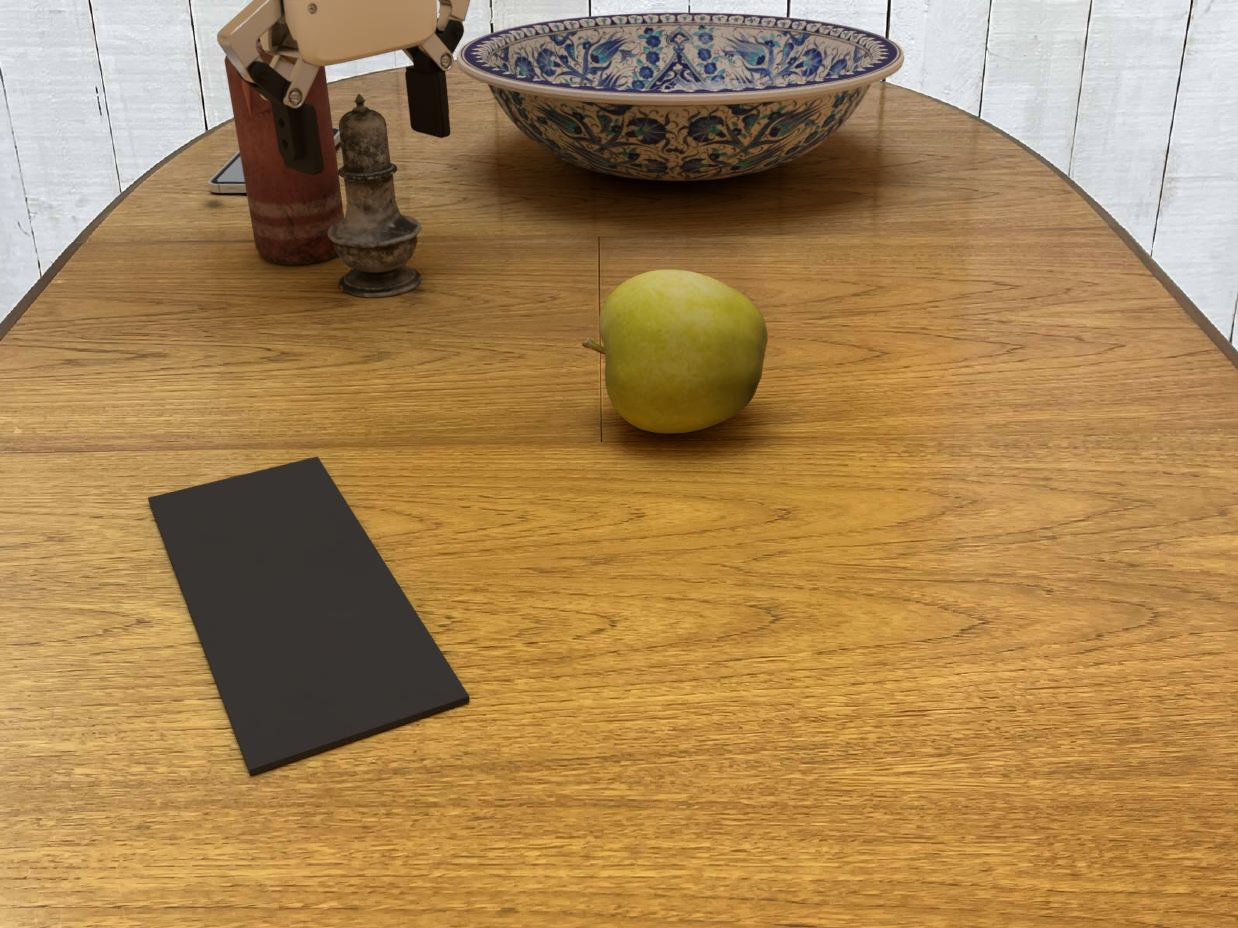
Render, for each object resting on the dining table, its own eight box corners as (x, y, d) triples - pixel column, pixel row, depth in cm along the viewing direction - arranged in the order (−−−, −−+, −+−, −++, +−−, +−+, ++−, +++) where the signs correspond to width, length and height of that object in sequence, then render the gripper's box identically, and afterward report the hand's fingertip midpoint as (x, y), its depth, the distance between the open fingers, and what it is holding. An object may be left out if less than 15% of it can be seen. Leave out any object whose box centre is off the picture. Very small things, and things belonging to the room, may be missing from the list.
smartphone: (203, 184, 97) (261, 127, 110) (206, 196, 97) (263, 138, 110) (297, 184, 96) (344, 127, 109) (299, 196, 97) (346, 138, 110)
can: (239, 264, 84) (201, 49, 77) (282, 232, 90) (251, 29, 83) (322, 271, 83) (291, 53, 76) (361, 238, 88) (336, 32, 81)
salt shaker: (327, 272, 83) (302, 87, 77) (415, 260, 85) (397, 78, 79) (342, 304, 78) (317, 110, 72) (435, 291, 80) (418, 100, 74)
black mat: (250, 776, 43) (248, 769, 42) (148, 502, 58) (147, 497, 58) (470, 702, 46) (469, 695, 46) (318, 461, 61) (317, 455, 61)
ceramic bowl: (858, 111, 116) (868, -3, 111) (930, 240, 87) (948, 93, 82) (489, 113, 117) (482, 0, 112) (436, 242, 88) (423, 97, 82)
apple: (585, 390, 67) (581, 249, 63) (755, 389, 67) (762, 247, 63) (581, 463, 61) (576, 310, 57) (769, 462, 61) (778, 308, 57)
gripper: (410, -172, 76) (438, 112, 85) (151, -149, 65) (212, 173, 74) (494, -169, 72) (514, 130, 80) (231, -144, 61) (286, 199, 69)
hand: (370, 151), depth 77 cm, fingers open, 9 cm apart
